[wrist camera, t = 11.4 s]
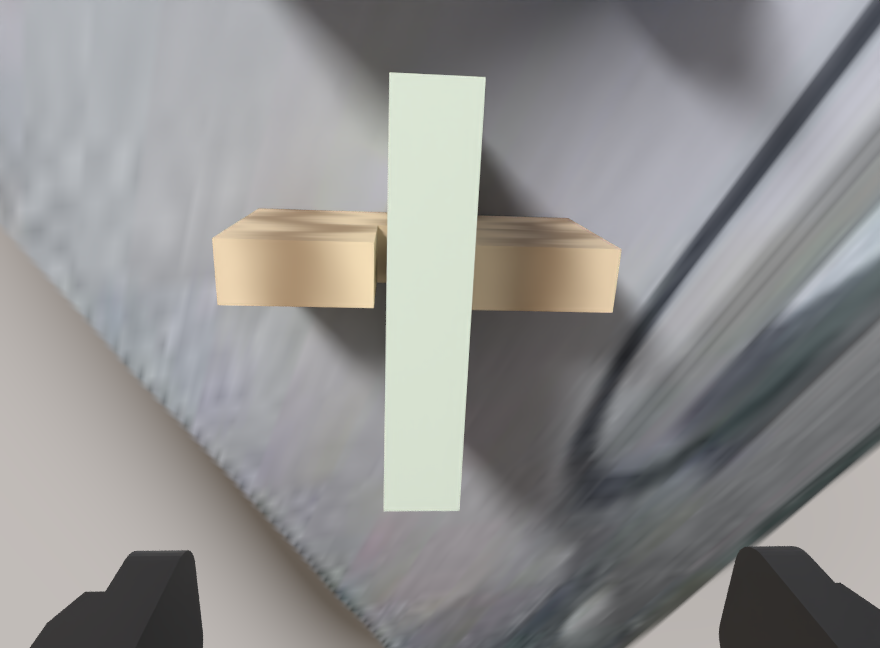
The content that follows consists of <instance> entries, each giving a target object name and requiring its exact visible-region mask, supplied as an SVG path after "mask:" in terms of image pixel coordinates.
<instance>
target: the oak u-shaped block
mask: <svg viewBox="0 0 880 648" xmlns="http://www.w3.org/2000/svg"><path fill="white" fill-rule="evenodd" d="M212 242H213V254H214V266H215V278H216V290H217V303H218V305H241V306H292V307H344V308H374V302H375V295H376V287H377V283H387V213H386V212H354V211H322V210H290V209H257V210H256V211H254V212H252V213H251V214H249V215H248V216H246V217H245V218H243V219H241V220H240V221H238V222H237V223H235V224H234V225H232V226H230V227H229V228H227V229H226V230H224V231H223V232H221V233H219V234H218V235H216V236H215V237H213V238H212ZM620 256H621V249H620V248H618V247H617V246H615V245H613V244H611V243H610V242H608V241H606V240H605V239H603V238H601V237H599V236H598V235H596V234H594V233H593V232H591V231H589V230H587V229H586V228H584V227H582V226H581V225H579V224H577V223H575V222H574V221H572V220H570V219H569V218H545V217H513V216H482V215H477V229H476V245H475V262H474V278H473V295H472V310H498V311H550V312H601V313H613V306H614V299H615V292H616V285H617V278H618V271H619V264H620Z"/></svg>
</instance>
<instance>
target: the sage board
mask: <svg viewBox="0 0 880 648" xmlns="http://www.w3.org/2000/svg"><path fill="white" fill-rule="evenodd" d="M485 81H486V77H473V76H453V75H433V74H413V73H392V72H389V135H388V212H387V290H386V368H385V445H384V511H459V508H460V492H461V475H462V459H463V442H464V426H465V410H466V393H467V377H468V360H469V344H470V328H471V311H472V295H473V278H474V262H475V245H476V229H477V213H478V196H479V180H480V163H481V147H482V131H483V114H484V98H485Z"/></svg>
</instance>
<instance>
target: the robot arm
mask: <svg viewBox="0 0 880 648" xmlns="http://www.w3.org/2000/svg"><path fill="white" fill-rule="evenodd" d="M719 641H720V648H880V609H878V608H877V607H875V606H874V605H872V604H871V603H870V602H868V601H866V600H865V599H864V598H862V597H860V596H859V595H858V594H856V593H855V592H853V591H852V590H850V589H849V588H847V587H846V586H844V585H843V584H841V583H835V582H833V580H832V579H831V578H830V577H829V576H828V575H827V574H826V573H825V572H824V571H823V570H822V569H821V568H820V566H819V565H818V564H817V563H816V562H815V561H814V560H813V559H812V558H811V557H810V556H809V555H808V554H807V553H806V552H805V551H804V550H802V549H800V548H798V547H794V546H774V547H773V546H772V547H770V546H769V547H744V548H742V549H741V550H740V551H739V553H738V555H737V557H736V560H735V564H734V568H733V573H732V577H731V581H730V585H729V589H728V593H727V598H726V601H725V606H724V609H723V614H722V618H721V622H720V628H719ZM30 648H203V630H202V621H201V612H200V604H199V594H198V586H197V576H196V567H195V560H194V556H193V554H192V553H191V551H189V550H187V551H183V550H182V551H134V552H132V553H131V554H129V556H128V557H127V558H126V559H125V561H124V562H123V564H122V566H121V567H120V569H119V571H118V572H117V574H116V575H115V577H114V579H113V580H112V582H111V583H110V585H109V587H108V588H107V590H106V591H105V592H84V593H83V594H82V595H81V596H79V597H78V598H77V599H76V600H75V601H73V602H72V603H71V604H70V605H68V606H67V607H66V608H65V609H64V610H62V611H61V612H60V613H59V614H58V615H56V616H55V617H54V618H53V619H52V620H50V621H49V622H48V623H47V624H46V626H45V627H44V628H43V630H42V631H41V633H40V634H39V635H38V637H37V638H36V640H35V641H34V643H33V644H32V645H31V647H30Z"/></svg>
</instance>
